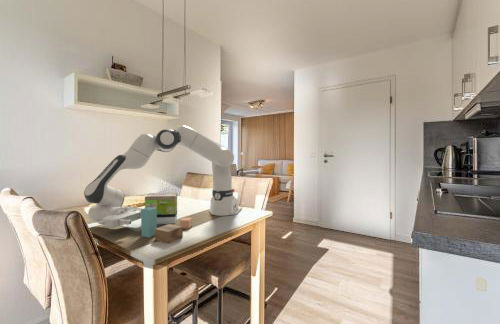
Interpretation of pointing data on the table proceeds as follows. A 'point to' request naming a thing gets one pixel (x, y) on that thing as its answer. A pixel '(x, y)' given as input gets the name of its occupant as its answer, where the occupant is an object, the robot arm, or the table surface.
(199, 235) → the table surface
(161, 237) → the walnut base block
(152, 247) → the table surface
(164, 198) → the tea box
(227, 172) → the robot arm
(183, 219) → the terracotta block
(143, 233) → the teal block
